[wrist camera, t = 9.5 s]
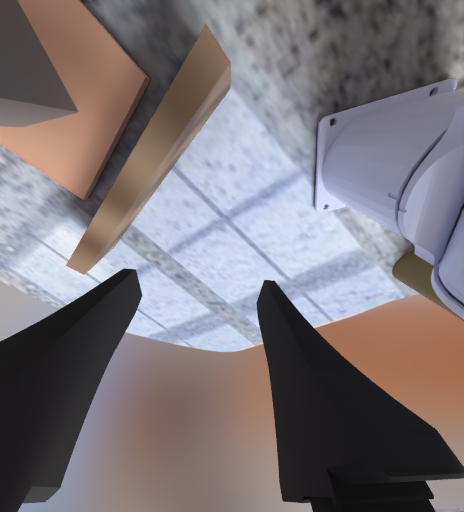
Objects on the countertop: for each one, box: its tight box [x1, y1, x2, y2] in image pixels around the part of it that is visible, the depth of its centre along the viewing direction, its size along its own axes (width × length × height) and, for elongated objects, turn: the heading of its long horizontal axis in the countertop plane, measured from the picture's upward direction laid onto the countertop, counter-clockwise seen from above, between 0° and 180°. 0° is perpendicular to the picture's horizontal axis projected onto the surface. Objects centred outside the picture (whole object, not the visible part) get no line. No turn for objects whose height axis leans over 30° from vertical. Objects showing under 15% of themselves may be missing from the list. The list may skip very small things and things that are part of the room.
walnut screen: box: [66, 25, 231, 275], centre depth 14 cm, size 20×2×5 cm, turn 134°
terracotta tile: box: [0, 0, 150, 200], centre depth 11 cm, size 12×12×1 cm
